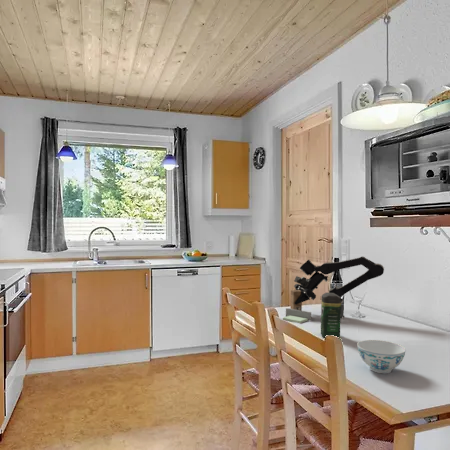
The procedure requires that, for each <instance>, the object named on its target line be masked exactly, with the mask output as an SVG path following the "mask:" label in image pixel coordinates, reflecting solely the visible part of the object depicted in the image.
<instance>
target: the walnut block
mask: <svg viewBox="0 0 450 450" xmlns="http://www.w3.org/2000/svg"><path fill="white" fill-rule="evenodd" d="M300 294H301V291H300V290H296V289H290V308H289V309H295V310H301V311H303V310H302V309H303V307H302V306H303V305H302V303H303V302H301V303H299V304H295V301H296V300H297V299H298V297H299V296H300Z"/></svg>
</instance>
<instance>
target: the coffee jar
mask: <svg viewBox="0 0 450 450" xmlns="http://www.w3.org/2000/svg"><path fill="white" fill-rule="evenodd" d="M341 298H342V297H341ZM341 298H340V297H339V296H338V295H336V294H335V293H329V292H325V293H323V294H322V295H321V304H320V305H321V311H320V313H321V314H320V335H321V337H322V338H324V337H325V336H326V335H334V336H337V337H340V338H341V319H342V318H341Z"/></svg>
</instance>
